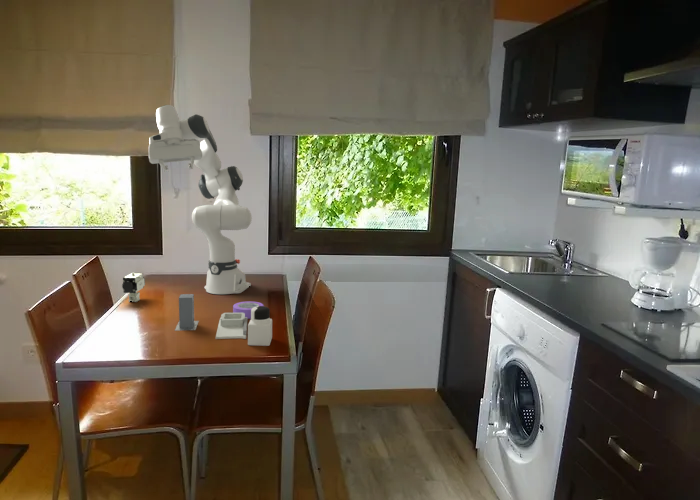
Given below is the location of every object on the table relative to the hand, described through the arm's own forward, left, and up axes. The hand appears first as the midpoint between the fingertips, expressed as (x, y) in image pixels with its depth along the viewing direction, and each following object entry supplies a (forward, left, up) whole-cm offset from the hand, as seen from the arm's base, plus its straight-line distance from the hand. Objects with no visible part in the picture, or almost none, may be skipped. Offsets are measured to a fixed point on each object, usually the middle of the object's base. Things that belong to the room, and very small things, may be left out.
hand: (178, 169), depth 196 cm
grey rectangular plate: (+22, +20, -55) cm, 62 cm away
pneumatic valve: (+6, -18, -55) cm, 58 cm away
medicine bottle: (+24, +51, -55) cm, 79 cm away
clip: (+22, +20, -54) cm, 62 cm away
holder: (+18, +36, -55) cm, 68 cm away
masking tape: (0, +32, -55) cm, 64 cm away
